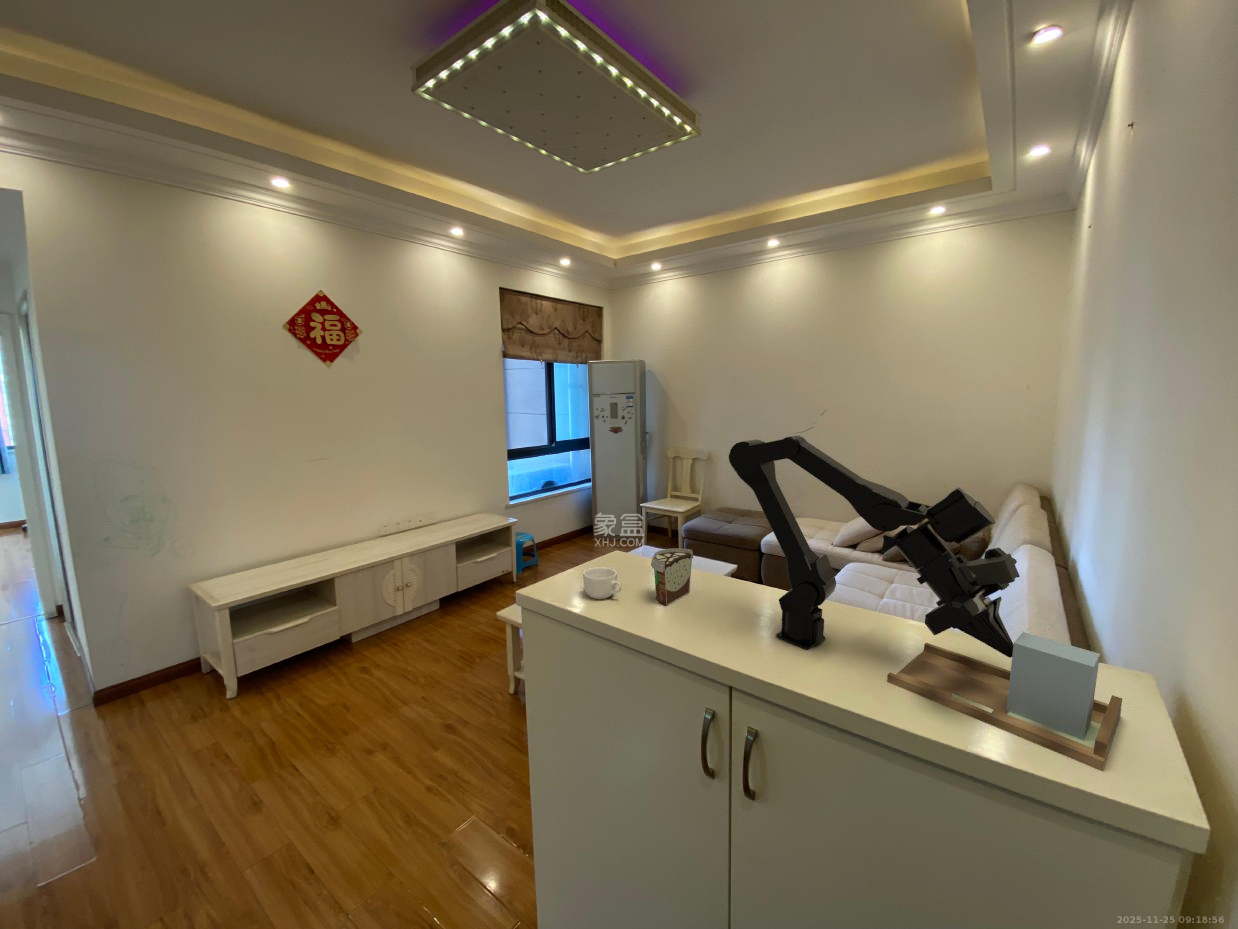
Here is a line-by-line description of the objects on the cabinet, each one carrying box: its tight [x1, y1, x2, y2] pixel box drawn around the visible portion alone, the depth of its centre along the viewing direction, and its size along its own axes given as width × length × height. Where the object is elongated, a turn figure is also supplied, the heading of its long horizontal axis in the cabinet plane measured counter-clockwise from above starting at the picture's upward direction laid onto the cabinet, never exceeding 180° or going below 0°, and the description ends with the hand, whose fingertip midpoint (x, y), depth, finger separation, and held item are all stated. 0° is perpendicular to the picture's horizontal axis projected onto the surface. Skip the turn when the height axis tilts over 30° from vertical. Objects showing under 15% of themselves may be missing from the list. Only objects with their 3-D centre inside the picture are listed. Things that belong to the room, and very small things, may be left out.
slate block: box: [1006, 631, 1101, 740], centre depth 67 cm, size 8×5×10 cm, turn 40°
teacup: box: [582, 566, 623, 600], centre depth 112 cm, size 10×8×5 cm
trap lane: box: [886, 642, 1123, 772], centre depth 72 cm, size 24×16×4 cm, turn 40°
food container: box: [650, 548, 694, 607], centre depth 111 cm, size 12×6×10 cm, turn 141°
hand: (1013, 655), depth 70 cm, fingers closed, pressing on slate block
